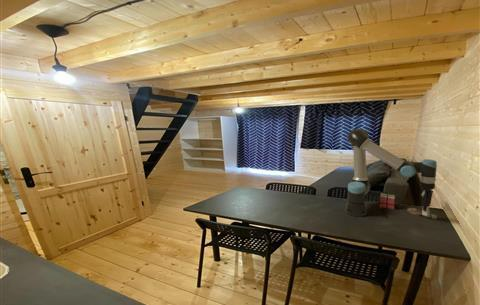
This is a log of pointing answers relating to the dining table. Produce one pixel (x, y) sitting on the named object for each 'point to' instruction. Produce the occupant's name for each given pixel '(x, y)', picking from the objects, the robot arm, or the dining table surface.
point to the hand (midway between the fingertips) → (425, 214)
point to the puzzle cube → (387, 201)
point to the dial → (417, 212)
